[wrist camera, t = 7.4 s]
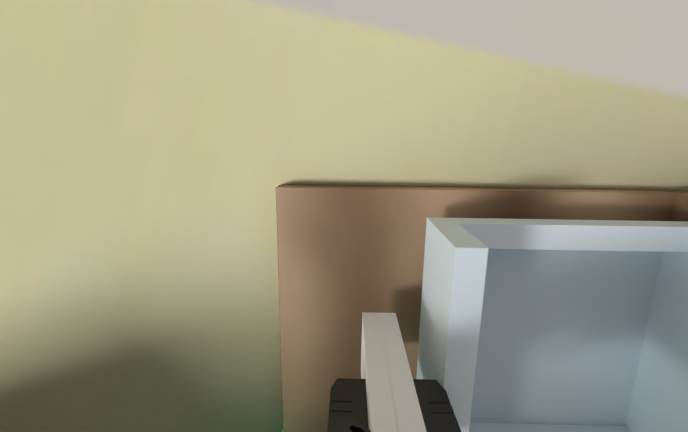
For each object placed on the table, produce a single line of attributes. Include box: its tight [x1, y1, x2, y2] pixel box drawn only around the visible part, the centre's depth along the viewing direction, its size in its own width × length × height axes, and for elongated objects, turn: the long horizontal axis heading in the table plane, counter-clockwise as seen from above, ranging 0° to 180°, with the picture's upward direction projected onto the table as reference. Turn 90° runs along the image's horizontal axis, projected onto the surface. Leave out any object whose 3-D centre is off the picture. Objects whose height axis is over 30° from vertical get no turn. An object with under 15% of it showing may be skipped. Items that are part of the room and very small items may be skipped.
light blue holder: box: [416, 217, 688, 432], centre depth 14 cm, size 11×11×5 cm
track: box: [276, 185, 688, 432], centre depth 14 cm, size 20×13×7 cm, turn 89°
